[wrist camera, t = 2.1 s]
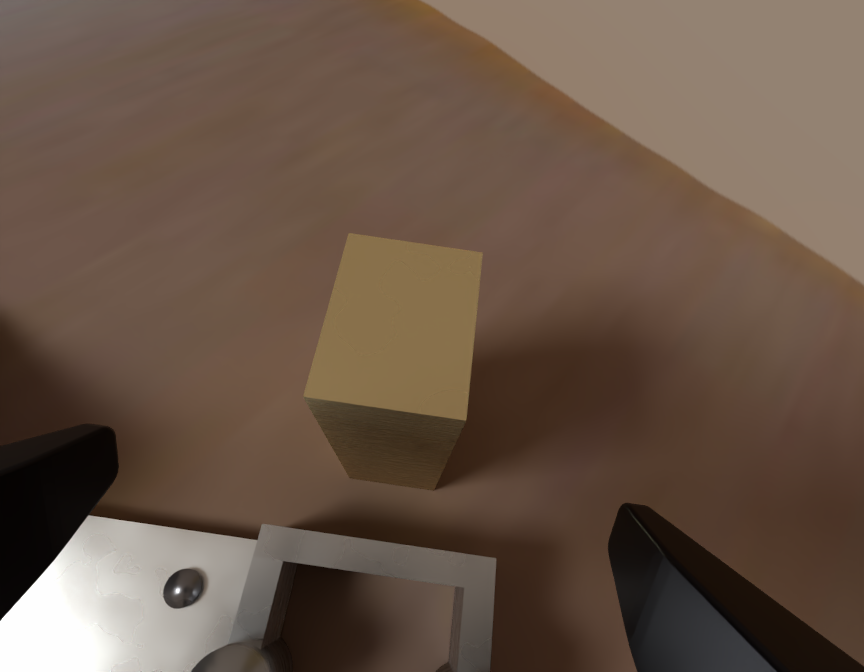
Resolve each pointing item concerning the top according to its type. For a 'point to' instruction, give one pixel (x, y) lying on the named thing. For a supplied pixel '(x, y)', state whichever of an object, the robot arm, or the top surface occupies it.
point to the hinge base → (212, 599)
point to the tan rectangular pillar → (396, 358)
